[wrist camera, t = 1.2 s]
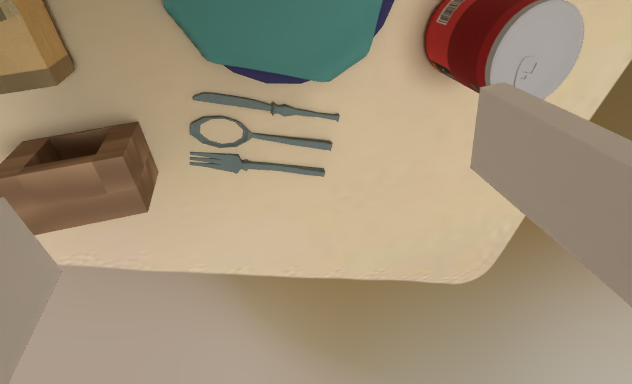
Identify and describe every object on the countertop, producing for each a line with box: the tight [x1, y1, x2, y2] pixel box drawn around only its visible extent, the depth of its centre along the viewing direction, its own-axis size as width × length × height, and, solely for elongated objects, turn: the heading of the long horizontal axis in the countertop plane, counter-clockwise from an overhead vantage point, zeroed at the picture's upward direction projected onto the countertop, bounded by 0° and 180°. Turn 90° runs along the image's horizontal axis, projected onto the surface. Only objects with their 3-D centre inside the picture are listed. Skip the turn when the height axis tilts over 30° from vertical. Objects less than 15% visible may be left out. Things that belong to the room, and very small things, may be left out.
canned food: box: [425, 0, 584, 100], centre depth 32 cm, size 8×8×11 cm
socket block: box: [0, 122, 158, 235], centre depth 32 cm, size 6×10×7 cm, turn 96°
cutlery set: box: [164, 0, 394, 177], centre depth 32 cm, size 20×30×2 cm, turn 167°
